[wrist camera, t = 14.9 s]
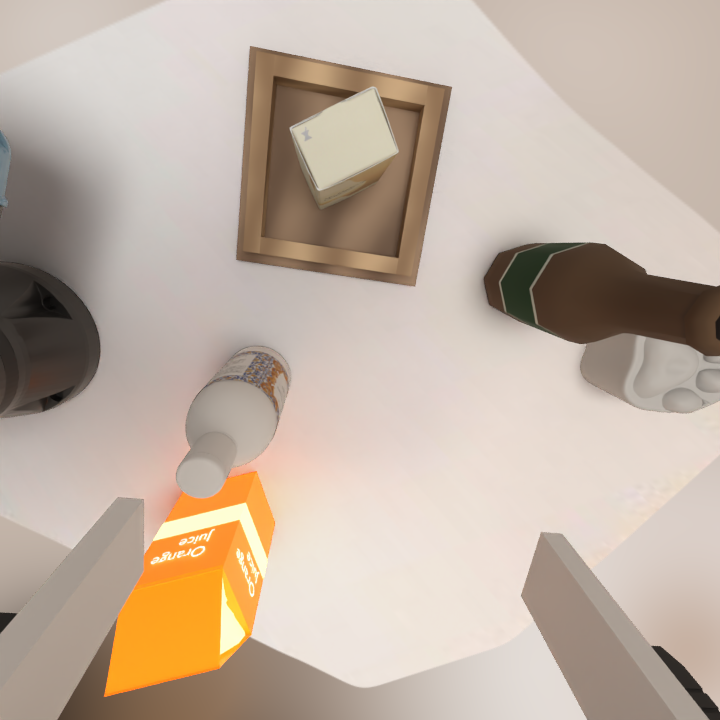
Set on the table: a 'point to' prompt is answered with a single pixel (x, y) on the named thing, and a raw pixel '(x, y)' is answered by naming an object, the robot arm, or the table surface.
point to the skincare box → (345, 147)
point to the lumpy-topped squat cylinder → (653, 373)
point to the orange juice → (195, 588)
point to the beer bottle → (601, 296)
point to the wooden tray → (357, 213)
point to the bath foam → (233, 419)
